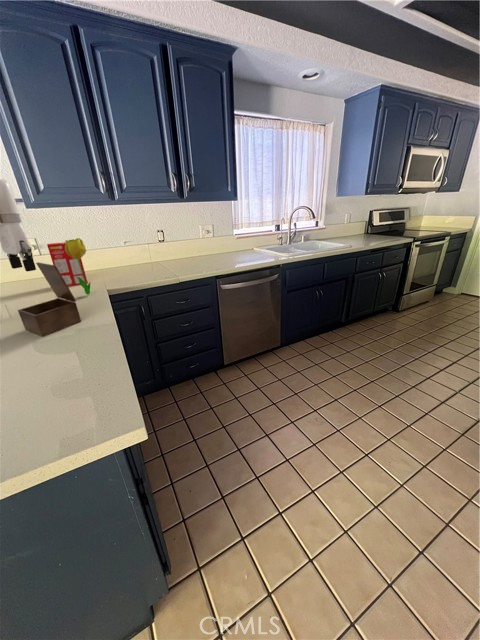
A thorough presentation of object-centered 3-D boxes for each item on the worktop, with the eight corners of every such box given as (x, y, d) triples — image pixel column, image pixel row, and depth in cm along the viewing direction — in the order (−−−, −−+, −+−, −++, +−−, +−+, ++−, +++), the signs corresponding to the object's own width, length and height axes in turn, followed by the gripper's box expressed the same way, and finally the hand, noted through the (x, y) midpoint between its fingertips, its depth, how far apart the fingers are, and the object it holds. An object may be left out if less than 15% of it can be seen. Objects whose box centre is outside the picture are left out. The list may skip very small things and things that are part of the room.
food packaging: (87, 281, 170) (76, 241, 160) (87, 283, 166) (77, 242, 156) (60, 285, 163) (47, 243, 152) (60, 287, 159) (47, 244, 148)
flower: (90, 292, 150) (76, 237, 137) (100, 294, 146) (86, 238, 134) (76, 296, 143) (59, 239, 131) (85, 299, 140) (69, 240, 127)
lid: (53, 266, 100) (55, 265, 100) (35, 263, 105) (37, 262, 106) (74, 302, 109) (76, 301, 110) (57, 297, 115) (59, 296, 116)
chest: (42, 337, 101) (34, 316, 97) (25, 330, 107) (17, 310, 103) (81, 321, 114) (75, 302, 110) (64, 316, 119) (58, 297, 115)
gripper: (-18, 219, 91) (0, 268, 98) (6, 220, 83) (24, 274, 90) (8, 218, 97) (23, 265, 104) (33, 219, 89) (48, 269, 96)
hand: (24, 269), depth 97 cm, fingers open, 9 cm apart
